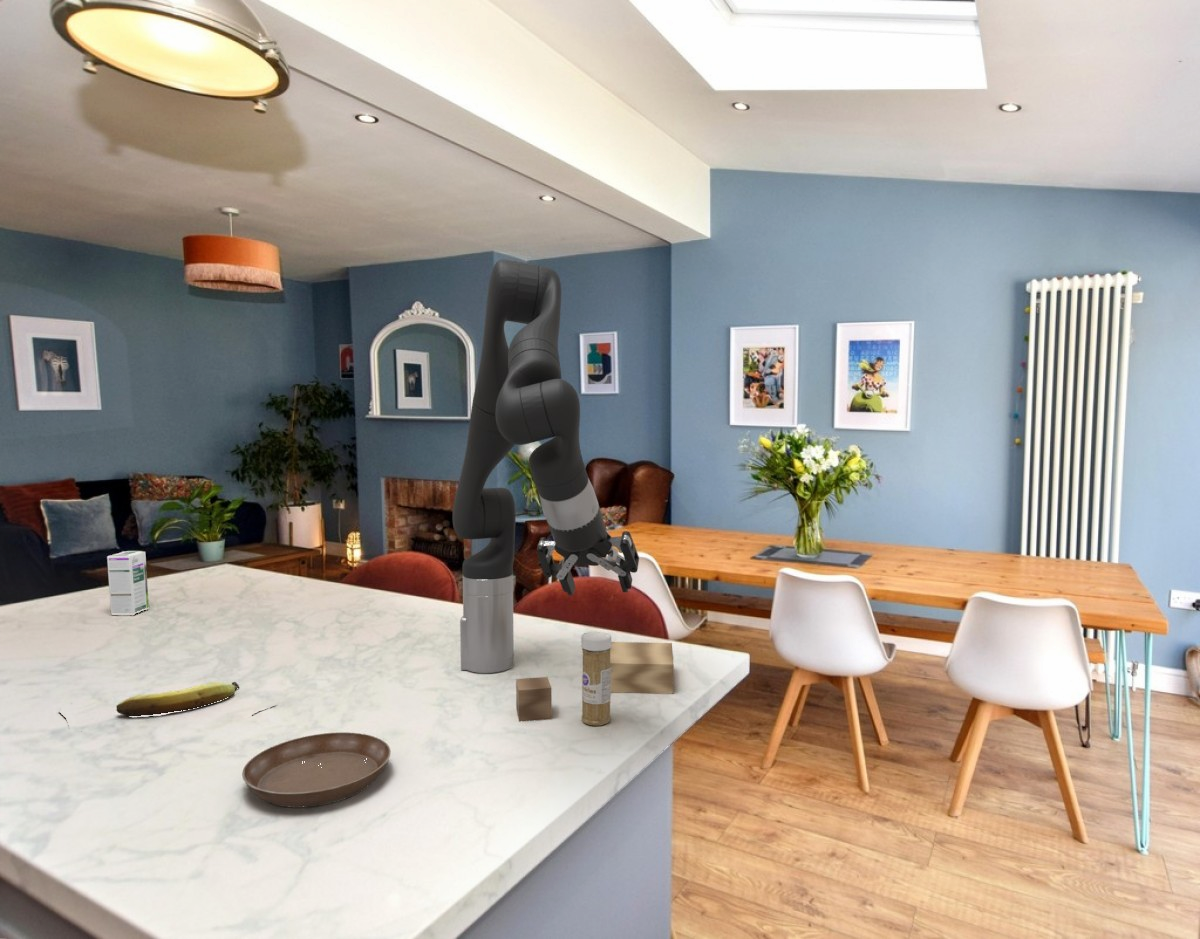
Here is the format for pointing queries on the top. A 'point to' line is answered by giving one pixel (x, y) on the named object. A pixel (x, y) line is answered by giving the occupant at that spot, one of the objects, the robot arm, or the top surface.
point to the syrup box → (128, 582)
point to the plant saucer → (316, 768)
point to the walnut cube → (533, 699)
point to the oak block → (641, 667)
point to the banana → (176, 699)
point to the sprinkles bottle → (596, 677)
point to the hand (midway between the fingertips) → (598, 589)
